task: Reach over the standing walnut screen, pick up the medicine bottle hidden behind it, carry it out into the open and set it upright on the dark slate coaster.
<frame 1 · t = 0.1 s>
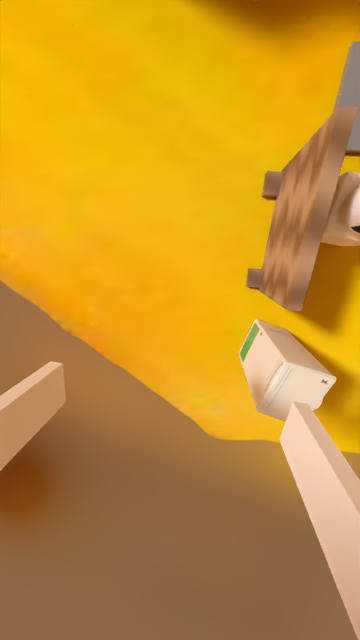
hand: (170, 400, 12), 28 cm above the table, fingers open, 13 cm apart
medicine bottle: (330, 219, 32), on the table
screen: (273, 235, 33), on the table
skincare box: (261, 342, 39), on the table
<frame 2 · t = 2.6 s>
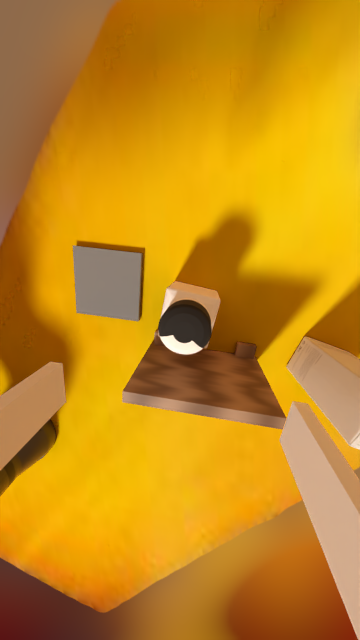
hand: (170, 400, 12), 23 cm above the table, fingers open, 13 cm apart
coaster: (109, 284, 34), on the table
medicine bottle: (191, 306, 34), on the table
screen: (202, 352, 36), on the table
skincare box: (317, 358, 34), on the table
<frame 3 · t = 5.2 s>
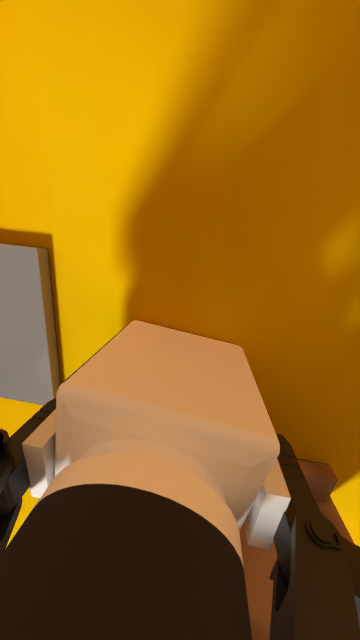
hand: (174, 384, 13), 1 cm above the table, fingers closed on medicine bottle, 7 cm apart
medicine bottle: (176, 376, 14), on the table, touching gripper
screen: (203, 471, 16), on the table
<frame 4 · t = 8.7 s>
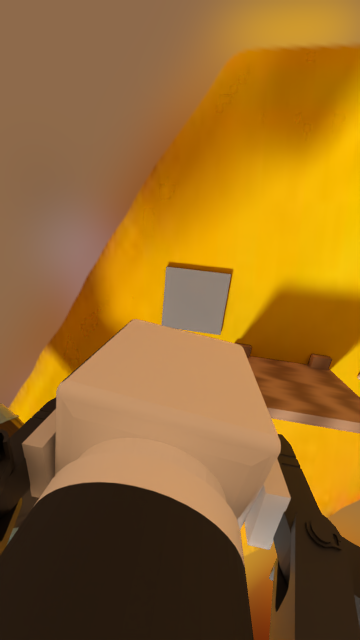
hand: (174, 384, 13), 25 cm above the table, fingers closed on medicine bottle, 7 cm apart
coaster: (194, 301, 37), on the table
medicine bottle: (176, 376, 14), point 24 cm above the table, touching gripper
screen: (276, 363, 39), on the table
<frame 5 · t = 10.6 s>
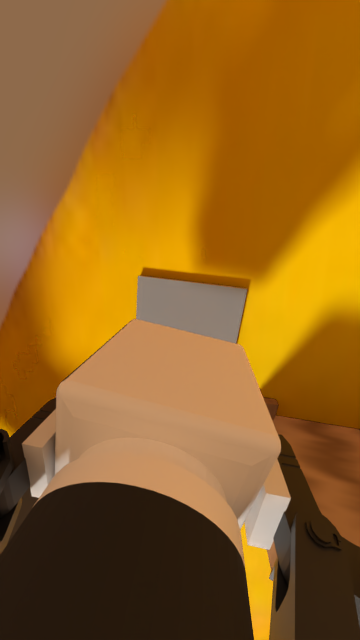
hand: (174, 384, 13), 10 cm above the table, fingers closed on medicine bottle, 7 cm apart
coaster: (186, 330, 23), on the table
medicine bottle: (176, 375, 14), point 9 cm above the table, touching gripper
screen: (316, 427, 25), on the table
when the fingers open (3 cm above the table, at t = 12.4 s): medicine bottle drops 1 cm, resting on coaster.
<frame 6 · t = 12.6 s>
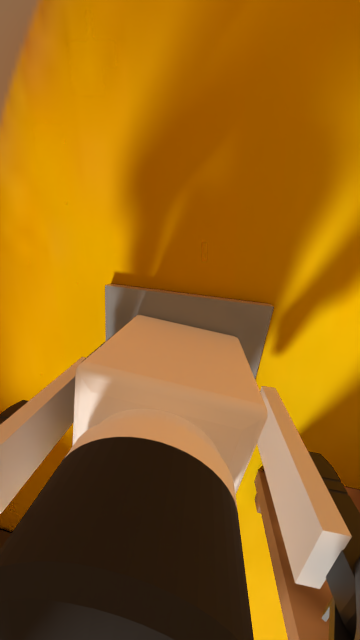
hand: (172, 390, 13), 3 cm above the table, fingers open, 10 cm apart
coaster: (179, 363, 16), on the table
medicine bottle: (177, 367, 15), point 1 cm above the table, touching coaster
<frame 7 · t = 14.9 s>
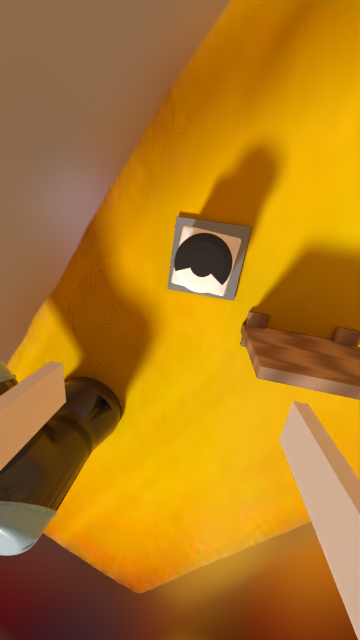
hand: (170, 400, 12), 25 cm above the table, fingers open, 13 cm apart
coaster: (206, 260, 32), on the table
medicine bottle: (206, 259, 32), point 1 cm above the table, touching coaster
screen: (295, 337, 34), on the table
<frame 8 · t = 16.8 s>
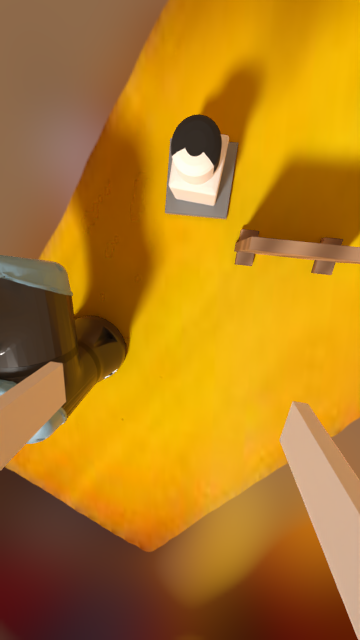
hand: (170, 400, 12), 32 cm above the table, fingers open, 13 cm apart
coaster: (199, 181, 36), on the table
medicine bottle: (199, 180, 35), point 1 cm above the table, touching coaster
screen: (284, 252, 37), on the table
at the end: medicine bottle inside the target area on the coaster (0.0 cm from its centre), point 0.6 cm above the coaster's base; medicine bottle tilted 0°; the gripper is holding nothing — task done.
